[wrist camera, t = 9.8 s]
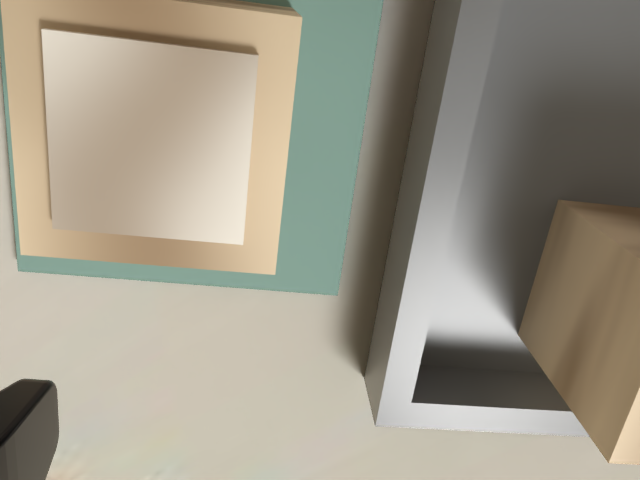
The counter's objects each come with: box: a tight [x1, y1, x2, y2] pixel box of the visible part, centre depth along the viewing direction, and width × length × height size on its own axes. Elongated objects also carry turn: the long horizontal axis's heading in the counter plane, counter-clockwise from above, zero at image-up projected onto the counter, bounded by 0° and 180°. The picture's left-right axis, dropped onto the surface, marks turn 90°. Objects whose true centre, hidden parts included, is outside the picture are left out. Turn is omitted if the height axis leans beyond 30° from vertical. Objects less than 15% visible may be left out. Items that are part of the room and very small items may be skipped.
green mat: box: [0, 0, 383, 296], centre depth 16 cm, size 10×12×1 cm
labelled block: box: [0, 0, 303, 275], centre depth 13 cm, size 5×5×6 cm
